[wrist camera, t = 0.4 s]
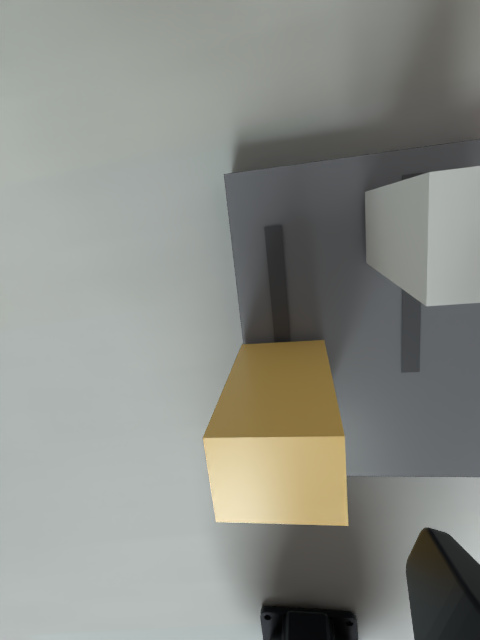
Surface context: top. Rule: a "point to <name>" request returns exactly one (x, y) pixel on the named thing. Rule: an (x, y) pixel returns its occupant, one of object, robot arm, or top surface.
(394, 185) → the grey slider
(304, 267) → the grey slotted board
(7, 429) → the top surface
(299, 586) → the top surface
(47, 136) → the top surface
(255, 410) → the amber slider
